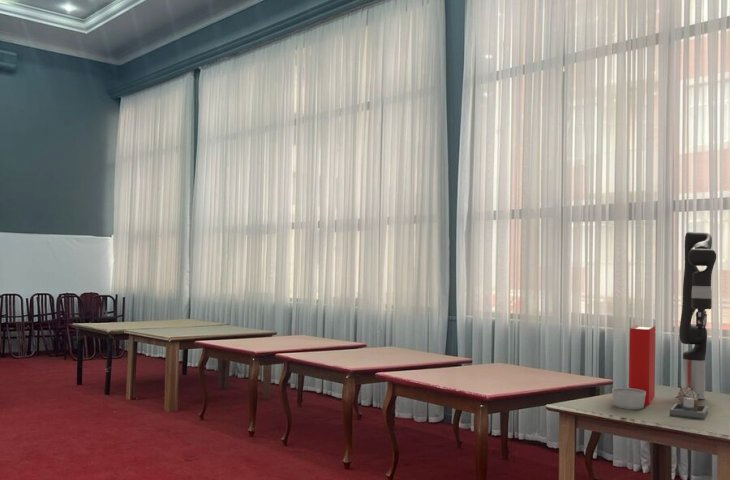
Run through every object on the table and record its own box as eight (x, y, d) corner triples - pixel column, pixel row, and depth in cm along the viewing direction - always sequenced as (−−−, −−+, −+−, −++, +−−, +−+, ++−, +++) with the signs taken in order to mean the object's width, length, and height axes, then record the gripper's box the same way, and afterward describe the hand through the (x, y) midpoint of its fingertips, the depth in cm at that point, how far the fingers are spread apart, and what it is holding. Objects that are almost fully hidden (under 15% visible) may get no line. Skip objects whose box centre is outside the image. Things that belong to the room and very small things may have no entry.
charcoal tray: (675, 408, 294) (676, 402, 294) (708, 412, 288) (708, 406, 288) (669, 415, 278) (669, 409, 278) (703, 419, 272) (703, 413, 272)
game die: (691, 415, 301) (703, 398, 295) (671, 406, 303) (682, 390, 297) (691, 401, 308) (702, 385, 303) (672, 393, 310) (682, 377, 304)
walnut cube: (684, 409, 289) (684, 397, 289) (697, 411, 287) (697, 398, 287) (682, 411, 285) (683, 398, 285) (696, 412, 282) (696, 400, 283)
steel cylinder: (683, 412, 282) (683, 397, 283) (694, 413, 280) (694, 398, 281) (682, 414, 279) (682, 398, 279) (693, 415, 277) (693, 399, 277)
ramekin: (633, 411, 285) (633, 394, 286) (605, 405, 296) (605, 389, 296) (652, 408, 293) (652, 391, 293) (624, 403, 304) (624, 386, 304)
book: (635, 395, 326) (636, 324, 327) (654, 397, 322) (655, 326, 323) (628, 404, 301) (629, 328, 303) (648, 406, 298) (649, 329, 299)
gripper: (710, 298, 285) (709, 338, 284) (713, 297, 297) (712, 336, 296) (689, 297, 289) (689, 337, 288) (693, 296, 301) (693, 335, 300)
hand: (701, 336), depth 292 cm, fingers open, 8 cm apart
